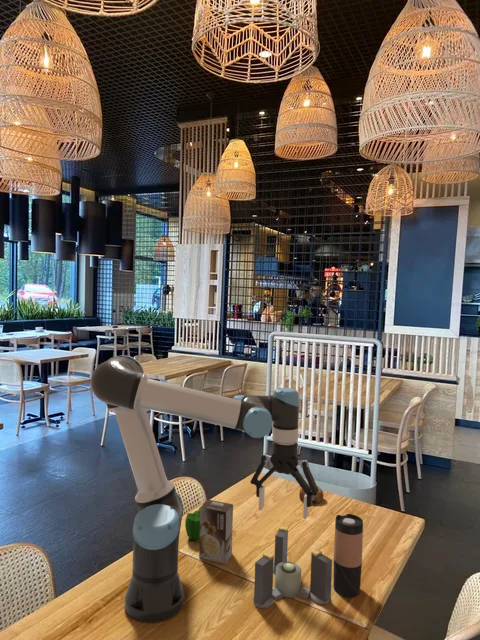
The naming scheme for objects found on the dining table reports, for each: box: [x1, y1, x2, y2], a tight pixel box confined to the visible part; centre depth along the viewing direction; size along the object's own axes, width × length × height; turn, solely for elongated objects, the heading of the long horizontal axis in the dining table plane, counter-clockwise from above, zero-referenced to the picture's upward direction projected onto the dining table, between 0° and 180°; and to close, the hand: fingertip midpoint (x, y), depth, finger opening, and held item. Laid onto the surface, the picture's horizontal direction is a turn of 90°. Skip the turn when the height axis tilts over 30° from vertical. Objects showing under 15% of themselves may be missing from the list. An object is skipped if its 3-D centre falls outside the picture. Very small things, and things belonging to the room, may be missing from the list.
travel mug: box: [333, 513, 364, 599], centre depth 123 cm, size 8×8×20 cm
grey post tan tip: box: [309, 548, 333, 606], centre depth 119 cm, size 5×5×12 cm
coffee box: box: [198, 499, 234, 565], centre depth 138 cm, size 9×6×16 cm
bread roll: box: [298, 482, 324, 505], centre depth 183 cm, size 10×10×8 cm
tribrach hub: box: [272, 561, 311, 601], centre depth 123 cm, size 12×11×7 cm
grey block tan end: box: [273, 525, 289, 575], centre depth 131 cm, size 5×5×12 cm
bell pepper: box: [185, 507, 200, 542], centre depth 149 cm, size 8×8×10 cm
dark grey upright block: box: [252, 551, 275, 609], centre depth 117 cm, size 5×5×12 cm
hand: (283, 512), depth 131 cm, fingers open, 13 cm apart
